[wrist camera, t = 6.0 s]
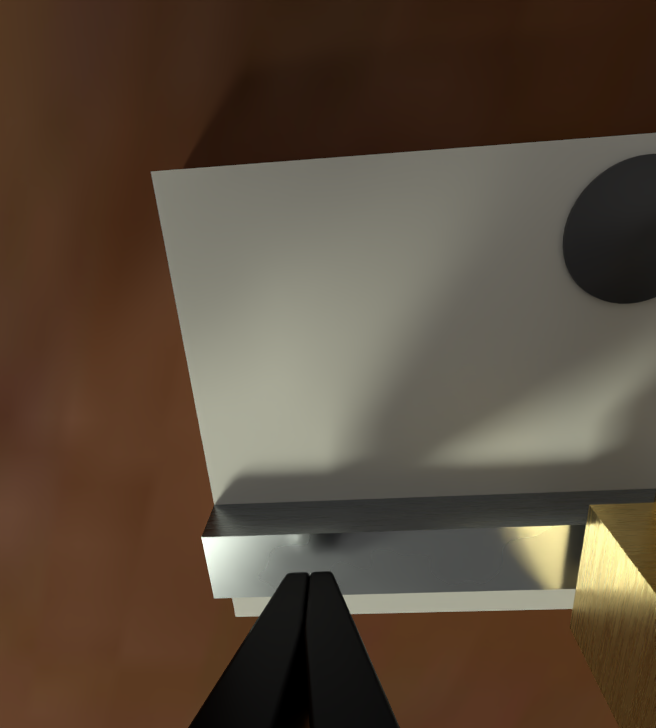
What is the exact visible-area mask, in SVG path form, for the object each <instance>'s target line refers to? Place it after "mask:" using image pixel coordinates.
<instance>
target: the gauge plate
mask: <svg viewBox="0 0 656 728" xmlns="http://www.w3.org/2000/svg"><path fill="white" fill-rule="evenodd" d="M151 175H152V181H153V186H154V191H155V196H156V202H157V207H158V212H159V217H160V222H161V228H162V233H163V238H164V243H165V249H166V254H167V259H168V264H169V270H170V275H171V280H172V285H173V291H174V296H175V301H176V306H177V312H178V317H179V322H180V327H181V333H182V338H183V343H184V348H185V354H186V359H187V364H188V369H189V374H190V380H191V385H192V390H193V395H194V401H195V406H196V411H197V416H198V422H199V427H200V432H201V437H202V443H203V448H204V453H205V458H206V464H207V469H208V474H209V479H210V485H211V490H212V495H213V500H214V505H221V504H249V503H276V502H303V501H330V500H357V499H384V498H411V497H438V496H465V495H492V494H519V493H546V492H573V491H601V490H628V489H655V488H656V133H647V134H634V135H621V136H608V137H595V138H582V139H569V140H556V141H543V142H530V143H517V144H503V145H490V146H477V147H464V148H451V149H438V150H425V151H412V152H399V153H386V154H373V155H360V156H347V157H334V158H321V159H308V160H295V161H282V162H269V163H256V164H243V165H230V166H217V167H204V168H191V169H178V170H165V171H151ZM575 591H576V589H552V590H513V591H475V592H436V593H398V594H359V595H343V598H344V600H345V602H346V605H347V607H348V609H349V611H350V614H371V613H413V612H456V611H498V610H540V609H573V603H574V597H575ZM270 599H271V597H243V598H232V600H233V605H234V610H235V616H236V617H245V616H260V614H261V613H262V611H263V610H264V608H265V607H266V605H267V603H268V602H269V600H270Z"/></svg>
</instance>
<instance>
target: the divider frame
mask: <svg viewBox="0 0 656 728" xmlns="http://www.w3.org/2000/svg"><path fill="white" fill-rule="evenodd" d="M655 494H656V488H655V489H628V490H601V491H573V492H546V493H519V494H492V495H465V496H438V497H411V498H384V499H357V500H330V501H303V502H276V503H249V504H221V505H214V507H213V509H212V512H211V515H210V517H209V520H208V522H207V525H206V527H205V530H204V532H203V535H202V537H201V538H202V542H203V547H204V552H205V557H206V562H207V566H208V571H209V576H210V581H211V585H212V590H213V595H214V598H243V597H272V596H273V594H274V592H275V591H276V589H277V588H278V586H279V585H280V583H281V582H282V580H283V578H284V577H285V575H286V574H288V573H292V572H307V573H308V574H309V575H310V574H311V573H312V572H322V571H330V572H332V573H333V575H334V577H335V579H336V581H337V584H338V586H339V588H340V591H341V593H342V595H359V594H398V593H436V592H475V591H513V590H552V589H576V585H577V578H578V572H579V566H580V560H581V554H582V547H583V541H584V535H585V529H586V522H587V516H588V510H589V505H597V504H626V503H654V498H655Z"/></svg>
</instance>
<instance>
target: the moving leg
mask: <svg viewBox="0 0 656 728" xmlns="http://www.w3.org/2000/svg"><path fill="white" fill-rule="evenodd" d="M570 629H571V631H572V633H573V635H574V637H575V639H576V641H577V643H578V645H579V647H580V649H581V651H582V653H583V655H584V657H585V659H586V661H587V663H588V665H589V667H590V669H591V672H592V674H593V676H594V678H595V680H596V682H597V684H598V686H599V688H600V690H601V692H602V694H603V696H604V698H605V700H606V702H607V704H608V706H609V708H610V710H611V712H612V714H613V716H614V718H615V720H616V722H617V724H618V726H619V728H656V494H655V498H654V503H626V504H597V505H589V510H588V516H587V522H586V529H585V535H584V541H583V547H582V554H581V560H580V566H579V572H578V578H577V585H576V591H575V597H574V603H573V610H572V616H571V622H570Z"/></svg>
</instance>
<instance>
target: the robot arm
mask: <svg viewBox="0 0 656 728" xmlns="http://www.w3.org/2000/svg"><path fill="white" fill-rule="evenodd" d="M188 728H400V727H399V725H398V722H397V720H396V718H395V715H394V713H393V711H392V708H391V706H390V704H389V702H388V699H387V697H386V695H385V692H384V690H383V688H382V685H381V683H380V681H379V678H378V676H377V674H376V671H375V669H374V667H373V665H372V662H371V660H370V658H369V655H368V653H367V651H366V648H365V646H364V644H363V641H362V639H361V637H360V635H359V632H358V630H357V628H356V625H355V623H354V621H353V618H352V616H351V614H350V611H349V609H348V607H347V605H346V602H345V600H344V598H343V595H342V593H341V591H340V588H339V586H338V584H337V581H336V579H335V577H334V575H333V573H332V572H330V571H322V572H312V573H311V574H310V575H309V574H308V573H307V572H292V573H288V574H286V575H285V577H284V578H283V580H282V582H281V583H280V585H279V586H278V588H277V589H276V591H275V592H274V594H273V596H272V597H271V599H270V600H269V602H268V603H267V605H266V607H265V608H264V610H263V611H262V613H261V614H260V616H259V618H258V619H257V621H256V622H255V624H254V625H253V627H252V629H251V630H250V632H249V633H248V635H247V636H246V638H245V640H244V641H243V643H242V644H241V646H240V647H239V649H238V650H237V652H236V654H235V655H234V657H233V658H232V660H231V661H230V663H229V665H228V666H227V668H226V669H225V671H224V672H223V674H222V676H221V677H220V679H219V680H218V682H217V683H216V685H215V687H214V688H213V690H212V691H211V693H210V694H209V696H208V698H207V699H206V701H205V702H204V704H203V705H202V707H201V708H200V710H199V712H198V713H197V715H196V716H195V718H194V719H193V721H192V723H191V724H190V726H189V727H188Z"/></svg>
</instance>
